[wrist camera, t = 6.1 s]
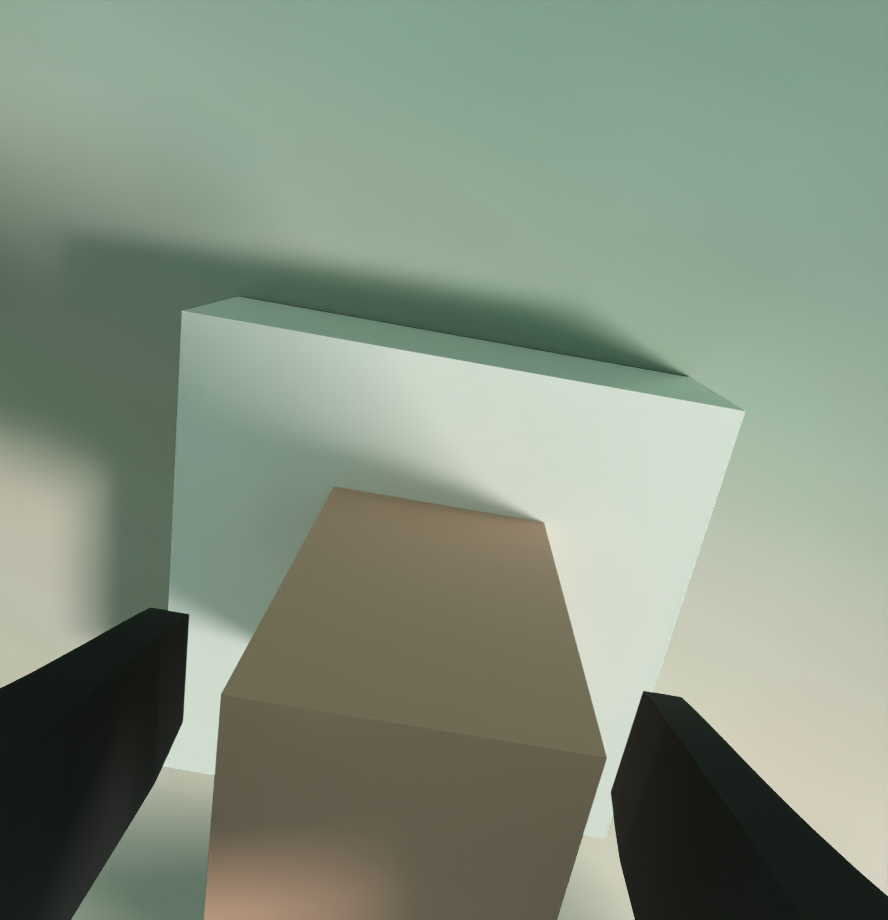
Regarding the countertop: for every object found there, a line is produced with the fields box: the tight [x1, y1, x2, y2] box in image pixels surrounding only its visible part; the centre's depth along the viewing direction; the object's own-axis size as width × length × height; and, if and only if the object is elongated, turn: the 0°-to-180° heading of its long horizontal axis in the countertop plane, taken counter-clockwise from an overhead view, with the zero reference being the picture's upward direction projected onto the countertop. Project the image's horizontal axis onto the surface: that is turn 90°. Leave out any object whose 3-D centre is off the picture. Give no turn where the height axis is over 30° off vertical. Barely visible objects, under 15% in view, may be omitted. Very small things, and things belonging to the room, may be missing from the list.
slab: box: [163, 296, 745, 839], centre depth 15 cm, size 10×10×3 cm
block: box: [204, 486, 607, 920], centre depth 10 cm, size 4×4×6 cm
